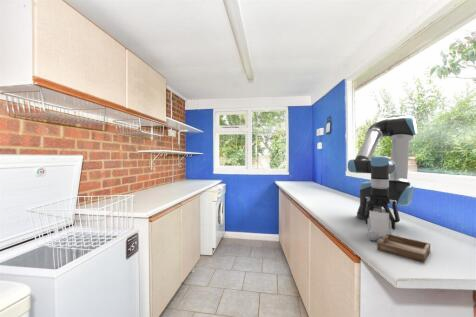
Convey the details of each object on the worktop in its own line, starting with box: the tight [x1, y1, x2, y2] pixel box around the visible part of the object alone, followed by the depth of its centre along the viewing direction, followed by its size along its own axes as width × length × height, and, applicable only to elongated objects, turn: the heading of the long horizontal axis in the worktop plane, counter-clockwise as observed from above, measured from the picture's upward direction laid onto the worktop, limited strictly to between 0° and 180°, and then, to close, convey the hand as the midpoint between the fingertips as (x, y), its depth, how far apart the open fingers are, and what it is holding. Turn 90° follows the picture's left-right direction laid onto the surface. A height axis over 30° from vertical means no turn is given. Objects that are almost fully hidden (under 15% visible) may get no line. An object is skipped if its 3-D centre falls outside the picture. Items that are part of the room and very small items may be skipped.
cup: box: [369, 208, 391, 238], centre depth 108 cm, size 9×9×12 cm
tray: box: [376, 233, 431, 263], centre depth 91 cm, size 15×15×3 cm
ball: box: [367, 231, 379, 242], centre depth 101 cm, size 4×4×4 cm
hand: (379, 232), depth 108 cm, fingers closed on cup, 9 cm apart
